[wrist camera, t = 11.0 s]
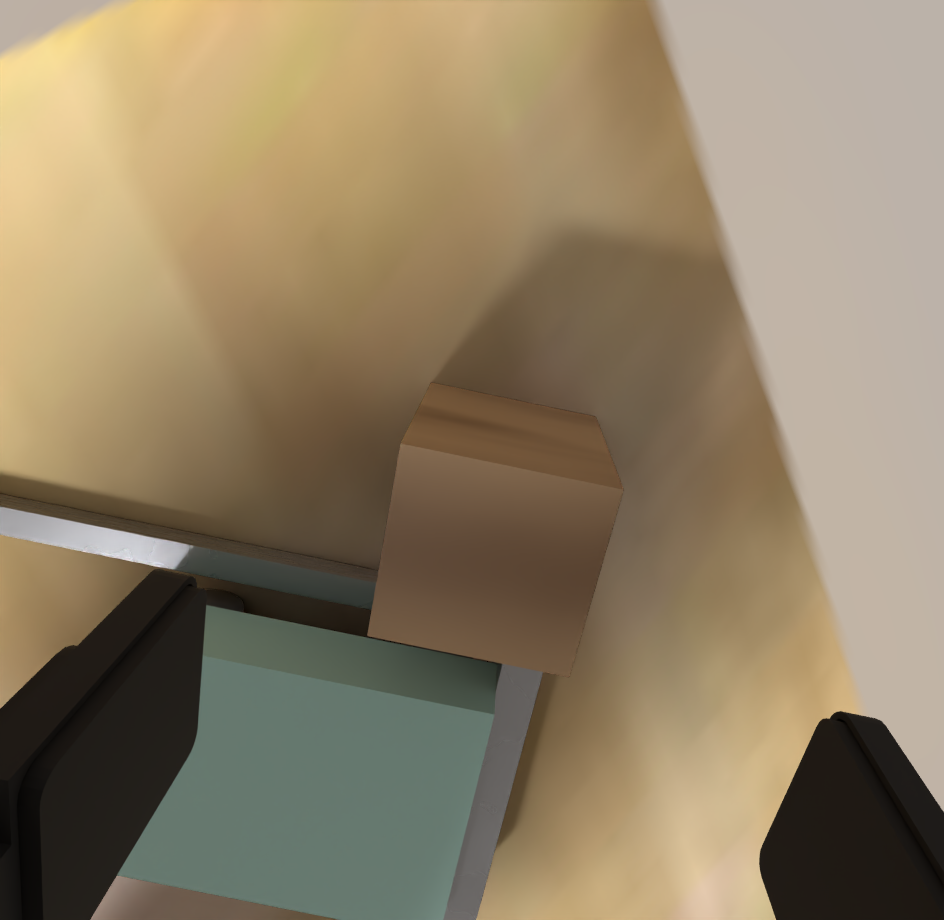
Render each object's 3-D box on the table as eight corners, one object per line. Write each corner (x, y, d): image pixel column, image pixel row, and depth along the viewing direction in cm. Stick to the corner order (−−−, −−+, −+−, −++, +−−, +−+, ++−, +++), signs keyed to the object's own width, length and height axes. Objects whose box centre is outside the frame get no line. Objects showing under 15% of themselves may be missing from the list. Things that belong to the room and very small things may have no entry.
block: (556, 563, 23) (569, 677, 17) (403, 531, 23) (367, 635, 17) (595, 416, 21) (623, 489, 16) (431, 382, 21) (400, 443, 16)
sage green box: (449, 838, 27) (438, 939, 23) (161, 780, 27) (103, 872, 23) (498, 635, 24) (494, 714, 20) (174, 570, 24) (109, 637, 20)
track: (473, 873, 27) (468, 948, 25) (-196, 739, 27) (-278, 800, 24) (543, 604, 24) (547, 658, 21) (-239, 444, 23) (-343, 477, 20)
